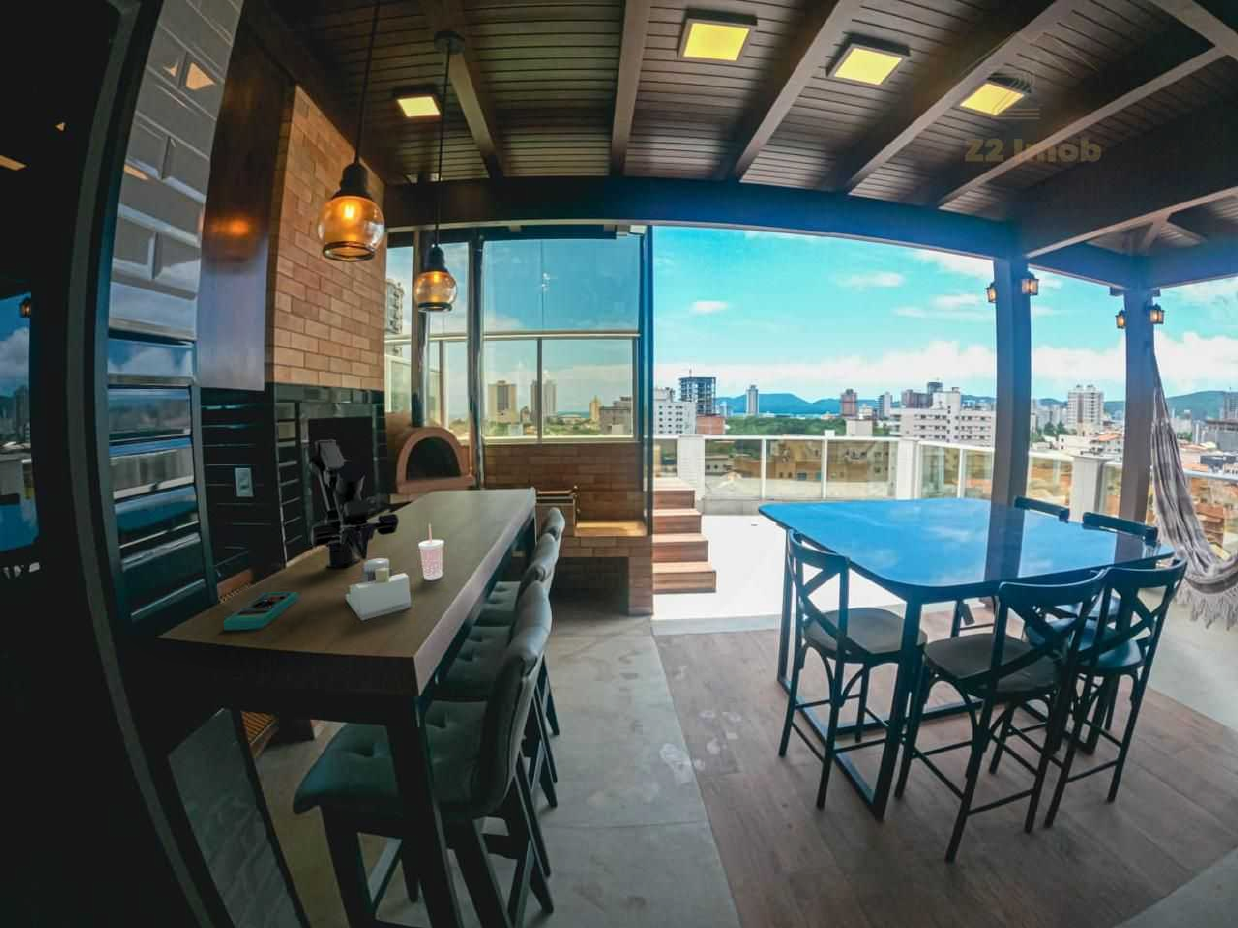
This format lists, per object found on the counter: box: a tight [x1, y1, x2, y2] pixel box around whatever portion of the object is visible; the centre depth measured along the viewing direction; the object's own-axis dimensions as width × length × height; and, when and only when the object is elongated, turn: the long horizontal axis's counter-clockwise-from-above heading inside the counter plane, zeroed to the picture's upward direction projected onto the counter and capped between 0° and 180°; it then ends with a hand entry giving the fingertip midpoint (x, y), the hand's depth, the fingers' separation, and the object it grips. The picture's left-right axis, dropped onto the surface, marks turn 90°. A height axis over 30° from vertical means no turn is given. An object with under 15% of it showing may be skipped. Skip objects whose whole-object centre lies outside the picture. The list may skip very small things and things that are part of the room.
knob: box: [361, 557, 394, 583], centre depth 109 cm, size 5×5×9 cm
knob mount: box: [345, 568, 412, 621], centre depth 111 cm, size 14×10×9 cm
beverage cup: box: [418, 523, 444, 581], centre depth 127 cm, size 6×6×14 cm
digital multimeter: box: [223, 590, 299, 631], centre depth 106 cm, size 7×15×3 cm, turn 7°
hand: (364, 558), depth 118 cm, fingers closed
